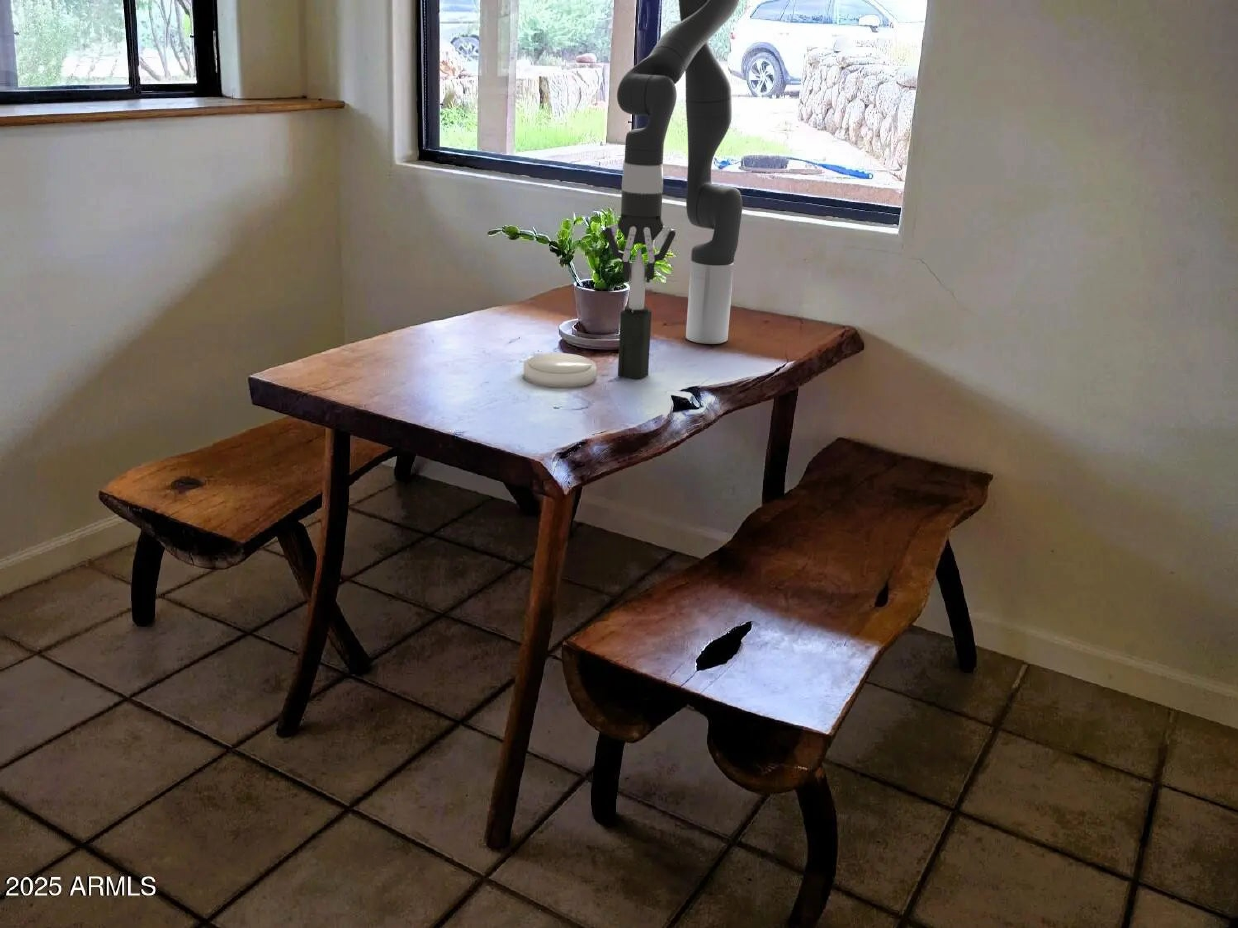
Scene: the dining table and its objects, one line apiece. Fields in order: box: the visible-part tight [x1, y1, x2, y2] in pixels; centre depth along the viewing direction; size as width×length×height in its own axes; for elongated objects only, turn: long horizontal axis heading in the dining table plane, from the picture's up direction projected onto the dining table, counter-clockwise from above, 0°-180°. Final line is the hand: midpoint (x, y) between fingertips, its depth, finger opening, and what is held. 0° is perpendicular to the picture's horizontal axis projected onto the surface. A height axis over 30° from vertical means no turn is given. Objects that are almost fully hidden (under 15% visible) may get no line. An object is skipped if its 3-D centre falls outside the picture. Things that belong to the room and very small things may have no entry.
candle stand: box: [523, 352, 597, 389], centre depth 217 cm, size 14×14×3 cm
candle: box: [617, 246, 653, 380], centre depth 216 cm, size 5×5×25 cm
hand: (637, 280), depth 214 cm, fingers open, 3 cm apart
